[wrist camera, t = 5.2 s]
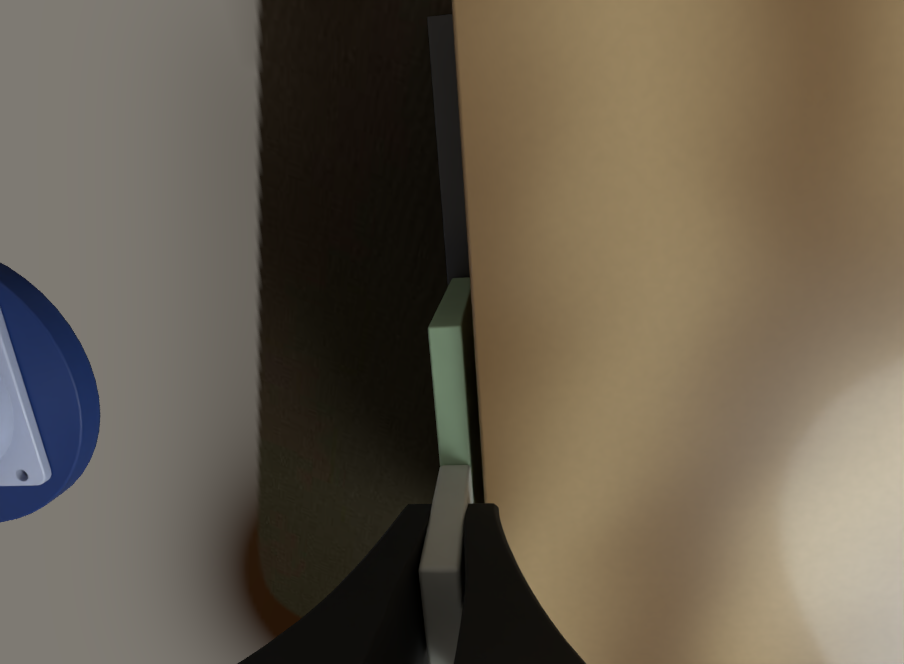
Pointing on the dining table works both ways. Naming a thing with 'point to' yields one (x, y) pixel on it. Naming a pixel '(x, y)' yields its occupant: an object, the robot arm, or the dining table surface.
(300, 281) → the dining table surface
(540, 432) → the cabinet
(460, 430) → the door
